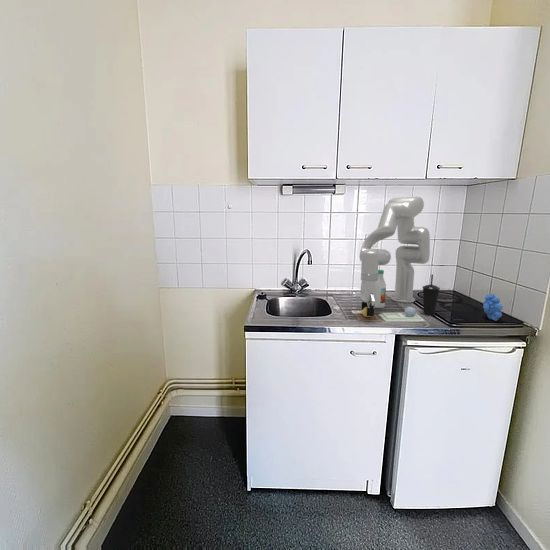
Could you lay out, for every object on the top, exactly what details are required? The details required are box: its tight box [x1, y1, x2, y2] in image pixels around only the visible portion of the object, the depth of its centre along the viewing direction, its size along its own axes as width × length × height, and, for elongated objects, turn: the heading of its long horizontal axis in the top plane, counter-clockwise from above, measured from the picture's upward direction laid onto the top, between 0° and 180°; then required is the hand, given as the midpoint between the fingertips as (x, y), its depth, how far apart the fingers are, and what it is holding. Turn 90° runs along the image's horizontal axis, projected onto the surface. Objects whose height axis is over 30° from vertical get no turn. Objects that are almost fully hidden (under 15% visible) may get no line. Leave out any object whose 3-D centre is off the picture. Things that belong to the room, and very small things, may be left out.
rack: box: [378, 312, 426, 323], centre depth 145 cm, size 10×18×2 cm, turn 89°
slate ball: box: [403, 306, 417, 317], centre depth 144 cm, size 5×5×5 cm
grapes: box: [482, 293, 503, 322], centre depth 141 cm, size 12×7×12 cm, turn 177°
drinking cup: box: [422, 273, 441, 317], centre depth 149 cm, size 8×8×20 cm
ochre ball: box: [361, 307, 371, 317], centre depth 145 cm, size 5×5×5 cm
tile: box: [351, 310, 362, 315], centre depth 154 cm, size 4×6×1 cm, turn 89°
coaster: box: [353, 313, 382, 323], centre depth 145 cm, size 10×10×1 cm
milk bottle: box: [374, 269, 387, 309], centre depth 163 cm, size 8×8×20 cm
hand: (367, 312), depth 145 cm, fingers open, 8 cm apart
